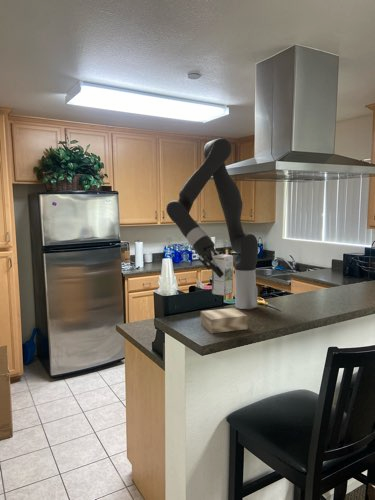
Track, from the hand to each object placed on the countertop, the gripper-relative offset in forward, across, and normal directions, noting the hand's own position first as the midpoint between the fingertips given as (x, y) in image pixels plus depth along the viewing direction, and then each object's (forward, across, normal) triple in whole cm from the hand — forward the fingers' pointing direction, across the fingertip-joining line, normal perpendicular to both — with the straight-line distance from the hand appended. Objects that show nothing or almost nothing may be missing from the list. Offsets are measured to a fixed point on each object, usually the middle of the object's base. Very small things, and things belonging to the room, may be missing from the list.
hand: (226, 274), depth 133 cm
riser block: (+13, 0, +15) cm, 20 cm away
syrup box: (+4, 0, +6) cm, 8 cm away
